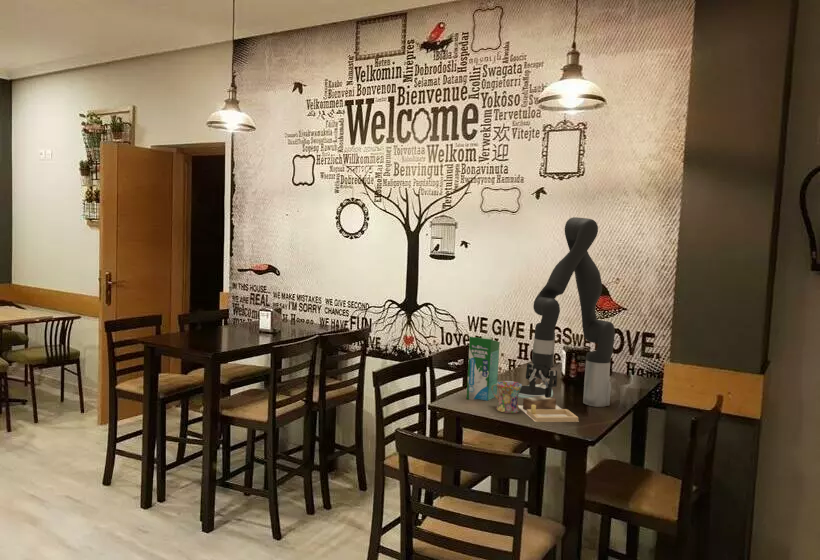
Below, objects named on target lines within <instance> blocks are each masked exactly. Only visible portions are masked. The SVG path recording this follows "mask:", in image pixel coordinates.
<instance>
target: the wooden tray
mask: <svg viewBox="0 0 820 560" xmlns="http://www.w3.org/2000/svg"><path fill="white" fill-rule="evenodd" d="M518 407H519V410H520V411H522V412H523V413H525V414H526V415H527V416H528V417H529V418H530V419H531V420H533V421H534V422H535V423H568V422H569V423H572V422H573V423H577V422H578V423H579V422H580V420H579V417H578V416H577V415H576V414H574V413H573V412H572V411H570V410H569V409H568V408H561V407H560V406H559V405H558V404H556V409H536V405H531V409H527V410H524V409H523V404H522V405H519V404H518Z"/></svg>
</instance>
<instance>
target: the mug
mask: <svg viewBox="0 0 820 560" xmlns="http://www.w3.org/2000/svg"><path fill="white" fill-rule="evenodd" d="M493 386H497V390H498V395H499V397H498V396H496V395H495V393H494V391H493ZM522 386H523V383H520V382H518V381H512V380H499V381H497V385H496V384H494V385H492V387H491V390H492V393H493V394H494V396H495V397H494V398H496V399H497V400H498V401H497V403H498V404H497V406H496V410H497V411H498V412H502V413H506V414H516V413H519V412H520V411H521V409H520V408H519V407H518V405H519V402H518V401H519V399H518V398H519V397H518V395H519V392H520V389H521V387H522Z"/></svg>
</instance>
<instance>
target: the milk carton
mask: <svg viewBox="0 0 820 560" xmlns="http://www.w3.org/2000/svg"><path fill="white" fill-rule="evenodd" d="M499 359H500V341H497V340H495V339H494V340H493V337H491V336H485V335H482V336H481V337H476V336H475V337H474V336H469V345H468V361H467V364H468V365H467V379H466V380H467V382H466V383H467V384H466V386H467V387H466V400H470V401H472V400H474V401H475V400H481V401H490V400H491V399H494V398H496V397H495V396H494V394H493V393H492V390H491V387H492V385H494V384H496V385H497V382H498V380H499V379H498V378H499V362H500V361H499ZM493 391H494V393H495V395H496V396H497V395H498V387H497V386H493ZM497 397H498V396H497Z"/></svg>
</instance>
